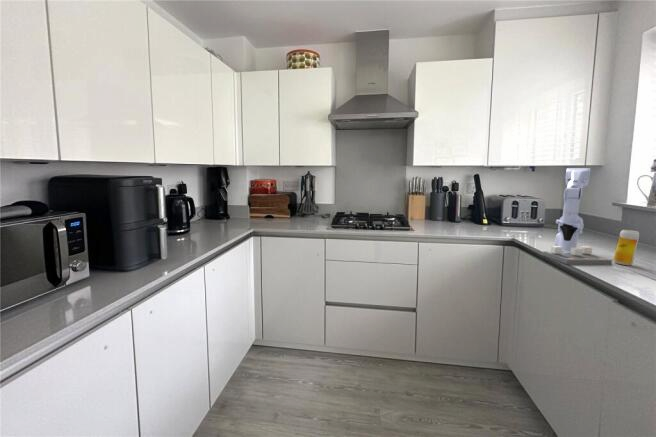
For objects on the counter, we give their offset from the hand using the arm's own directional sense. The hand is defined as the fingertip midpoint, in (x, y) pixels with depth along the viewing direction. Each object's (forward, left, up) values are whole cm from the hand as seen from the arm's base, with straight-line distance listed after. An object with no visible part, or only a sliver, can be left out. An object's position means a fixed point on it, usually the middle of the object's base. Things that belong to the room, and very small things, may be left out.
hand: (567, 240), depth 148 cm
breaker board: (+6, 0, -8) cm, 10 cm away
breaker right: (+3, +7, -5) cm, 9 cm away
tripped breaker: (+6, 0, -5) cm, 8 cm away
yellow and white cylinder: (+13, +16, -8) cm, 22 cm away
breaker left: (+3, -7, -5) cm, 9 cm away
